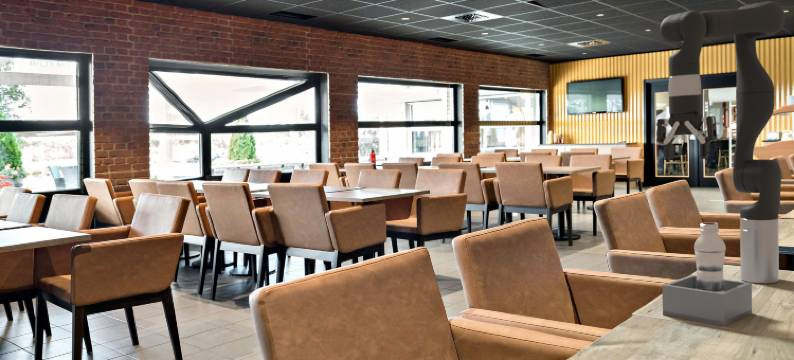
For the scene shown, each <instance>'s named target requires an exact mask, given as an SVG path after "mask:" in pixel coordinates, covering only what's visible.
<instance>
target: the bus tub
mask: <svg viewBox="0 0 794 360" xmlns="http://www.w3.org/2000/svg"><path fill="white" fill-rule="evenodd" d="M696 282H697V274H690V275H688V276H685V277H682V278H680V279H679V278H678V279H676V280H673V281H670V282H667V283H664V284H662V291H661V292H662V315H663V316H667V317H672V318H678V319H682V320H689V321H694V322H698V323H704V324H709V325H716V326H719V327H725V326H729V325H730V324H732V323H735V322H737V321H739V320H741V319H743V318H745V317H748V316H749V315H751V314H753V298H752V297H753V289H752V287H753V283H752V282H747V281H739V280H731V279H725V278H723V283H724V290H725V292H722V293H719V292H712V291H705V290H699V289H696Z"/></svg>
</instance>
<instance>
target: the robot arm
mask: <svg viewBox="0 0 794 360" xmlns="http://www.w3.org/2000/svg"><path fill="white" fill-rule="evenodd" d="M785 18H786V16H785V12H784V8H783V7H782V6H781V5H780V4H779V3H778V2H776V1H771V0H769V1H768V0H767V1H762V2H760V1H759V2H756V3H752V4H747V5H743V6H739V8H736V9H735V8H734V9H714V10H713V9H712V10H704V11H699V10H689V11H684V12H683V11H682V12H679V13H674V14H670V15H668V16H667V17H665V18H664V19H663V20H662V22H661V24H660V27H659V32H660V35H661V37H662V39H663V40H664V41H665V42H668V43H670V44H676V43H681V42H682V45H681V47H680V49H679V50H678V51H676V52H673V53H671V54H670V55H669V58H668V76H669V77H668V87H667V88H668V89H667V95H668V113H669V118H668V119H667V118H657V120H656V121H657V122H656V123H657V127H656V142H658V143H661V144H663V145H664V156H665V157H666V158H667V160H674V157H675V151H674V150H675V149H674V147H675V146H674V144H673V143H674V141H675V140H676V138H678V137H679V136H683V135H686V136H688V135H689V136H691V135H692V136H694V137H695V138H697V140H698V141H699V142H700V144H699V150H700V151H699V153H700V155H699V157H700V160H706V159H708V157H709V156H710V143H711V142H714V141H717V140H718V130H717V120H716V119H717V118H716V116H715V115H710V116H709V115H708V116H706V117H703V114H702V113H703V112H702V111H703V103H702V101H703V100H702V97H703V95H702V82H701V73H700V72H701V69H700V67H701V66H700V56H701V52H702V50H703V49H702V48H703V45H704V42H705V41H704V40H712V39H719V38H724V37H729V36H733V37H734V38H733V39H734V48H735V59H736V62H735V64H736V89H735V94H736V95H735V111H736V113H735V115H736V121H735V122H736V123H735V125H736V126H735V127H736V128H735V148H734V155H733V165H732V182H733V185H734V189H736V191H737V192H739V193H746V194H747V193H749V194H759V195H758V200H756V202H754V203H752V204H748V205H745V206H742V207H741V208H740V210H739V226H740V227H739V228H740V229H739V231H740V232H739V233H740V235H739V236H740V237H739V238H740V239H739V241H740V247H739V248H740V253H739V254H740V280H741V281H742V282H748V283H752V284H753V283H754V284H775V283H778V282H779V281H780V279H779V278H780V276H779V270H780V269H779V267H780V266H779V263H780V262H779V258H780V257H779V256H780V255H779V247H780V245H779V243H780V242H779V212H780V207H781V189H782V188H781V187H782V171H781V167H780V164H779V163H778V161H776V160H774V159H754V150H755V145H756V143H757V140H758V137H759V136H760V135H761V133H762V131H763V130H764V129H765V127H766V126H767V124H768V123H769V121H770V119H771V118H772V116H773V114H774V110H775V85H774V81H773V80H772V78H771V77H770V75H769V73H768V72H767V71H766V69H765V68H764V66H763V64H762V63H761V62H760V59H759V57H758V53H757V47H756V46H757V42H756V41H757V40H756V39H758V38H767V37H771V36H773V35H776V34H778V33H779V32H780V31H781V30H783V27H784V25H785V21H786V20H785ZM703 123H704V125H705V126H706V131H707V133H706V131H704V129H703V128H702V127H701V126H702V125H703ZM668 126H670V127H671V128H670V130H669V131H668V133H667V128H668Z"/></svg>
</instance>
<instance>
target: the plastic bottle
mask: <svg viewBox="0 0 794 360" xmlns="http://www.w3.org/2000/svg"><path fill="white" fill-rule="evenodd" d="M699 226H700V227H699V228H700V229H699V232H701V234H700V235H699V236H698V237H697V238H696V240H695V242H694V245H693V249H694V256H695V261H696V262H695V264H696V276H697V282H696V289H699V290H705V291H712V292H719V293H722V292H725V290H724V283H723V279H724V262H725V256H726V250H727V249H726V244H725V241H723V239H722V237H721V236H720V235H719V234H718V233H719V231H720V229H719V223H718V222H707V221H706V222H700V224H699Z"/></svg>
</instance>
